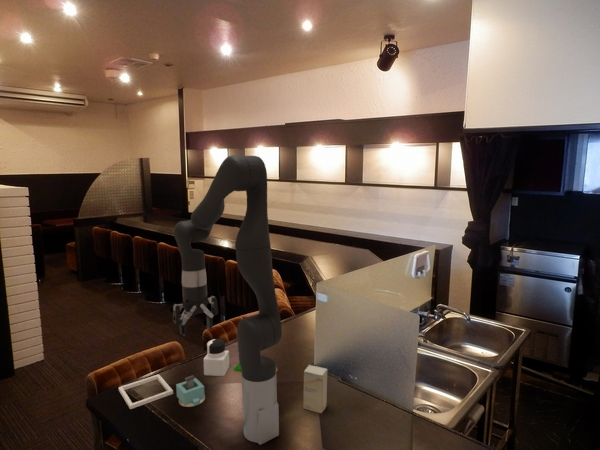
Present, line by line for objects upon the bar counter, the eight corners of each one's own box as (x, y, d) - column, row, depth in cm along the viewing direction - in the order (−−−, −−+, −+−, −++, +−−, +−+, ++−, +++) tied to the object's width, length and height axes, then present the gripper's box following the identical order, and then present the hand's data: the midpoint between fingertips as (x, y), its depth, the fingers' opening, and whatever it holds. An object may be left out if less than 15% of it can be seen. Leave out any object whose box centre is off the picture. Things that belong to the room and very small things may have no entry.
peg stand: (209, 403, 122) (208, 379, 120) (184, 413, 117) (183, 388, 116) (198, 392, 128) (197, 368, 127) (174, 401, 123) (173, 377, 122)
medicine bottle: (229, 368, 143) (228, 337, 141) (224, 379, 136) (222, 346, 134) (210, 367, 143) (209, 336, 142) (203, 378, 136) (202, 345, 135)
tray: (173, 397, 125) (173, 390, 125) (130, 412, 117) (129, 406, 117) (159, 380, 135) (158, 374, 135) (118, 393, 127) (118, 387, 127)
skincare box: (302, 409, 118) (302, 371, 117) (308, 401, 123) (308, 364, 121) (322, 414, 116) (322, 375, 114) (327, 405, 120) (327, 368, 118)
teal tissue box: (207, 400, 121) (206, 388, 120) (187, 408, 117) (186, 396, 116) (196, 389, 127) (195, 377, 127) (176, 396, 123) (176, 384, 123)
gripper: (176, 289, 117) (179, 341, 119) (220, 281, 126) (222, 329, 128) (167, 284, 123) (171, 333, 125) (210, 276, 132) (212, 322, 134)
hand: (197, 331), depth 127 cm, fingers open, 8 cm apart
